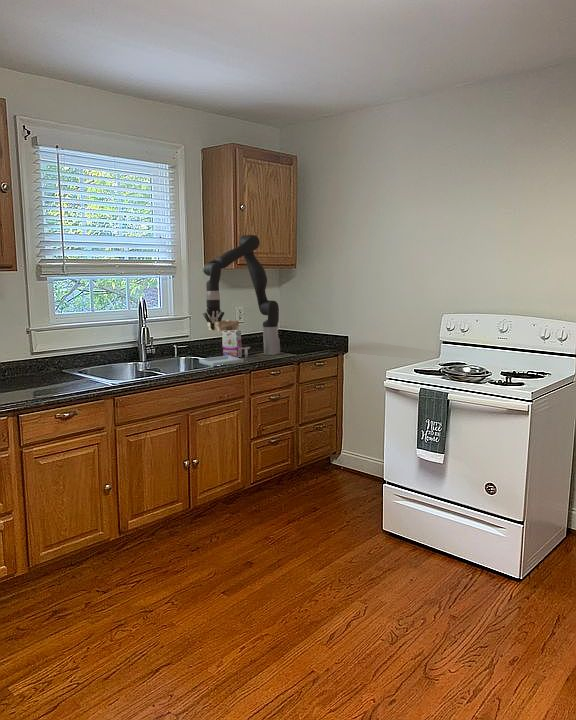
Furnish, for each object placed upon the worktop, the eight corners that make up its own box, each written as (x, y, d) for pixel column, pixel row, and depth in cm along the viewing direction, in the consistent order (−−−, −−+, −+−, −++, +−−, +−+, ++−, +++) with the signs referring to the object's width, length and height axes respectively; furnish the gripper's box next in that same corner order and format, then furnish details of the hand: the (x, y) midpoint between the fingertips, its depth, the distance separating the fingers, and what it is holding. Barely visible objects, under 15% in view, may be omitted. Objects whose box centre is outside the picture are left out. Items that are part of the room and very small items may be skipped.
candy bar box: (242, 357, 370) (241, 330, 367) (238, 358, 365) (236, 331, 363) (227, 356, 375) (225, 329, 372) (222, 357, 370) (221, 330, 368)
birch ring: (239, 329, 346) (239, 320, 345) (220, 331, 338) (219, 322, 337) (226, 328, 357) (226, 319, 356) (207, 329, 349) (207, 321, 348)
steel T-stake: (249, 358, 363) (249, 346, 362) (251, 358, 362) (250, 347, 361) (241, 359, 361) (241, 347, 360) (243, 359, 359) (242, 348, 358)
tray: (228, 359, 362) (228, 355, 362) (243, 363, 347) (243, 359, 346) (199, 363, 353) (199, 359, 352) (213, 367, 337) (213, 363, 336)
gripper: (205, 299, 335) (207, 330, 337) (226, 298, 343) (228, 329, 345) (199, 299, 341) (200, 330, 343) (220, 298, 349) (221, 328, 351)
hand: (214, 329), depth 344 cm, fingers closed on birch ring, 1 cm apart
